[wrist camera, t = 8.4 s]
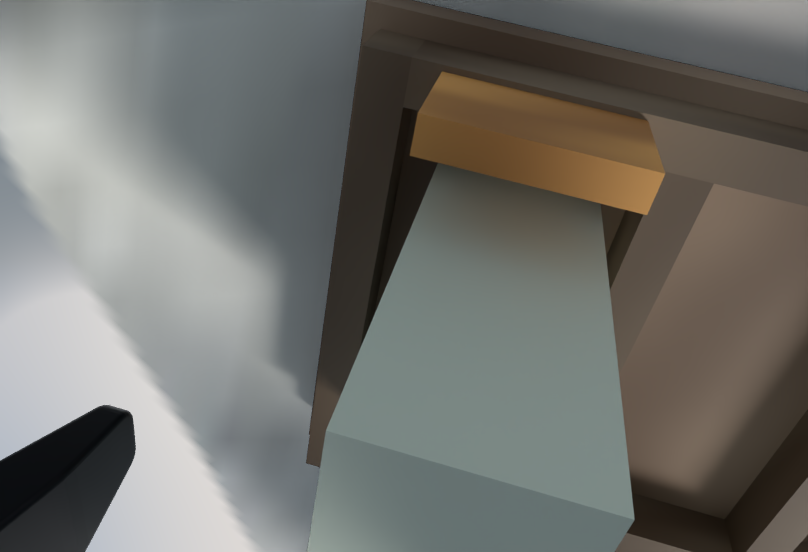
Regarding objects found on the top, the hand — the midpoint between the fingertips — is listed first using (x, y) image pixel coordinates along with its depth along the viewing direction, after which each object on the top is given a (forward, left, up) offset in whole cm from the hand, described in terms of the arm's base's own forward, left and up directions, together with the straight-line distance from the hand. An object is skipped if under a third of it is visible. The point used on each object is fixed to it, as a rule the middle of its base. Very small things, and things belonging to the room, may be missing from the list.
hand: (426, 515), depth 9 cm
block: (0, 0, -5) cm, 5 cm away
